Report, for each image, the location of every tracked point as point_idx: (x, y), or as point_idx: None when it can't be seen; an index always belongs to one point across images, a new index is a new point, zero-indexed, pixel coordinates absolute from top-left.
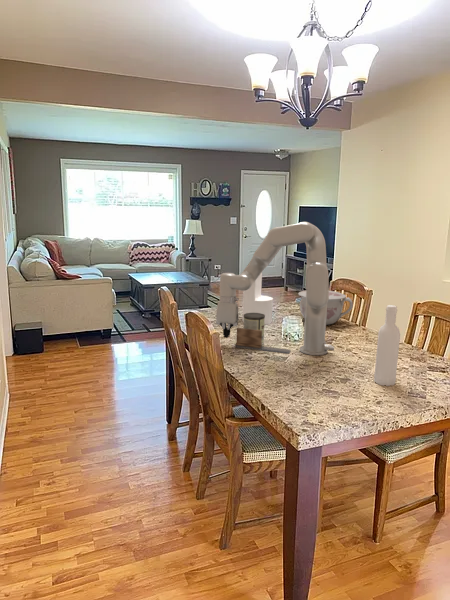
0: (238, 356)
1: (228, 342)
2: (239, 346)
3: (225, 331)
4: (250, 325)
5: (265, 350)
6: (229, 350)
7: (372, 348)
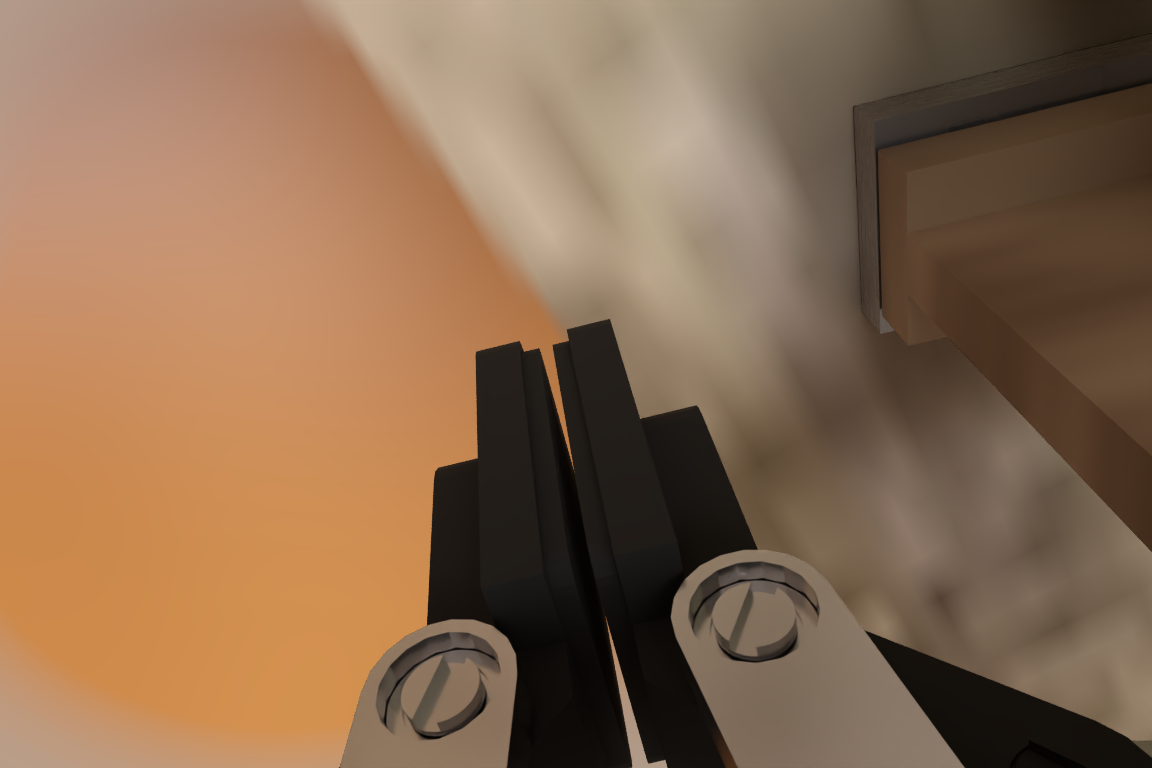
0: (1089, 690)
1: (456, 33)
2: None
3: (618, 707)
4: None
5: None
6: (820, 561)
7: None
